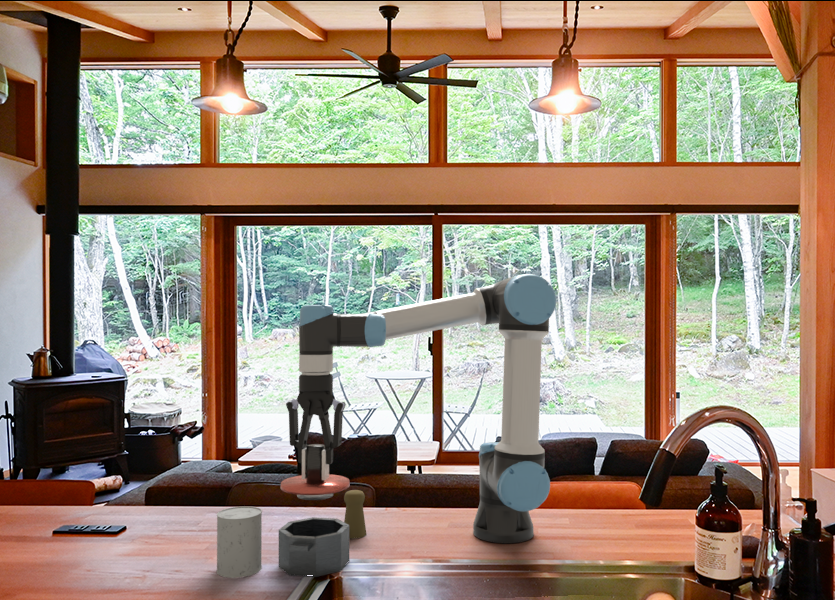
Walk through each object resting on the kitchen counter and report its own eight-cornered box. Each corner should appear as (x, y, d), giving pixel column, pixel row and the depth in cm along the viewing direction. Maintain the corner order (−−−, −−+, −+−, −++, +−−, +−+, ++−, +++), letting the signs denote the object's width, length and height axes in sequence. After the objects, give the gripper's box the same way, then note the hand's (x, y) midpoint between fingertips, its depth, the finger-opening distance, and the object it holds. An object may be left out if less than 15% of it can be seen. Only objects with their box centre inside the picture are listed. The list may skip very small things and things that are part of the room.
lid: (357, 488, 152) (357, 441, 152) (337, 506, 137) (337, 453, 137) (296, 485, 155) (296, 438, 155) (269, 502, 140) (269, 451, 140)
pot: (357, 551, 153) (357, 516, 153) (331, 582, 135) (331, 543, 135) (299, 547, 156) (299, 513, 156) (266, 577, 138) (266, 539, 138)
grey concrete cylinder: (221, 562, 147) (222, 507, 147) (264, 560, 148) (265, 505, 148) (212, 578, 137) (212, 519, 138) (258, 577, 138) (258, 518, 139)
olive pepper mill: (362, 539, 162) (362, 494, 162) (339, 537, 163) (339, 493, 163) (369, 531, 168) (369, 488, 168) (346, 530, 169) (346, 487, 169)
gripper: (357, 372, 149) (356, 476, 148) (286, 371, 152) (286, 472, 151) (347, 375, 142) (346, 484, 141) (273, 374, 145) (272, 480, 144)
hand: (315, 478), depth 146 cm, fingers closed on lid, 4 cm apart
